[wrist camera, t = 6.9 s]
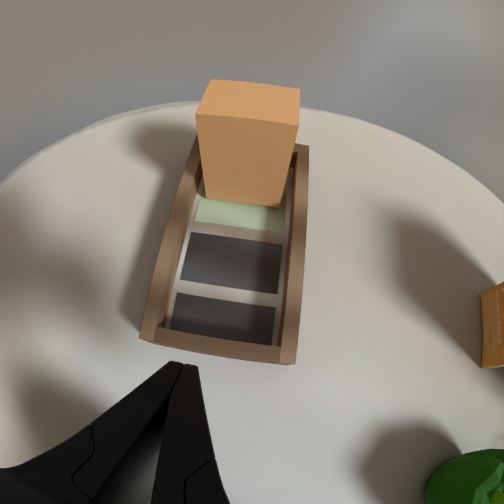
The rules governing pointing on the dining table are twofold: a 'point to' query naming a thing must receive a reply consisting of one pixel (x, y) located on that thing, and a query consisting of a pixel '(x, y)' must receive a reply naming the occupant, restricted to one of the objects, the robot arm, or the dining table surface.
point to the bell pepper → (469, 479)
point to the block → (247, 140)
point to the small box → (493, 327)
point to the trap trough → (231, 271)
